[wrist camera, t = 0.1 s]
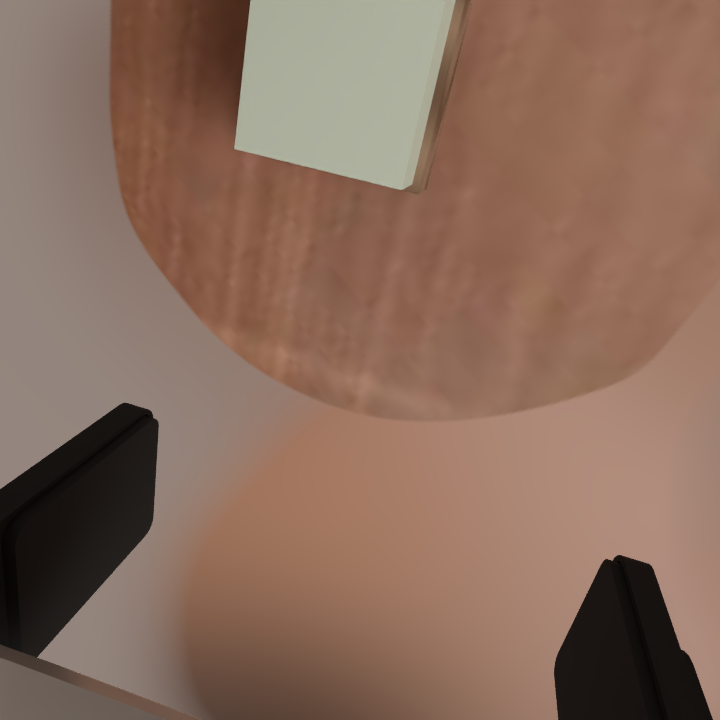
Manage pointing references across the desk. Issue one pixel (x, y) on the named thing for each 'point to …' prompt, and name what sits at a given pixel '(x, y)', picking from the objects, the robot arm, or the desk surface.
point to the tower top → (342, 84)
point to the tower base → (440, 96)
